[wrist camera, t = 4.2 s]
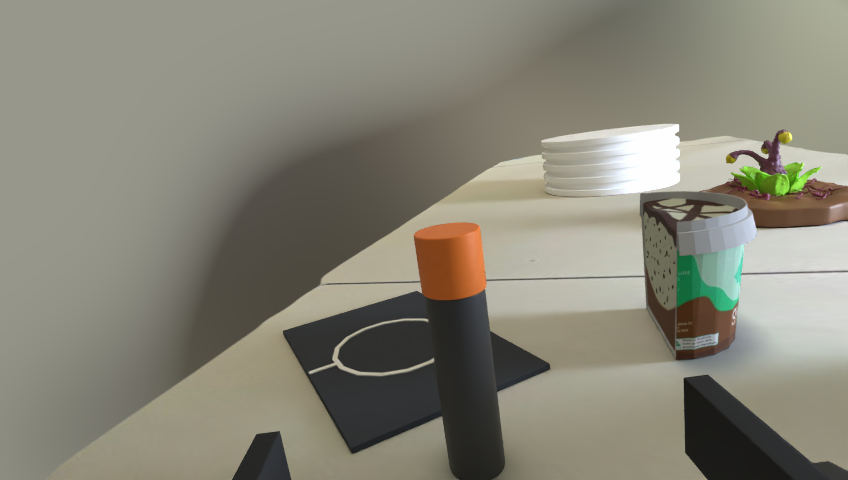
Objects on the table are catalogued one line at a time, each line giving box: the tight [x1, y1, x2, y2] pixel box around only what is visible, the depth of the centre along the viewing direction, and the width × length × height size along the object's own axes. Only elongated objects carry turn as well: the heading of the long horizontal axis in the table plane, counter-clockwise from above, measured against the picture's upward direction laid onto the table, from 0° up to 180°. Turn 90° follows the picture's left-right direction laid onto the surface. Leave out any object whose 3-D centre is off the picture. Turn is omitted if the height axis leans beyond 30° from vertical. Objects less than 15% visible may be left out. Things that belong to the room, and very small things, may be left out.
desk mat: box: [283, 291, 550, 453], centre depth 41 cm, size 15×22×1 cm
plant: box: [699, 130, 848, 227], centre depth 65 cm, size 20×20×11 cm
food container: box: [640, 191, 757, 360], centre depth 35 cm, size 12×6×10 cm, turn 167°
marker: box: [414, 223, 505, 480], centre depth 24 cm, size 3×3×13 cm
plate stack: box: [541, 124, 680, 197], centre depth 106 cm, size 28×28×12 cm
